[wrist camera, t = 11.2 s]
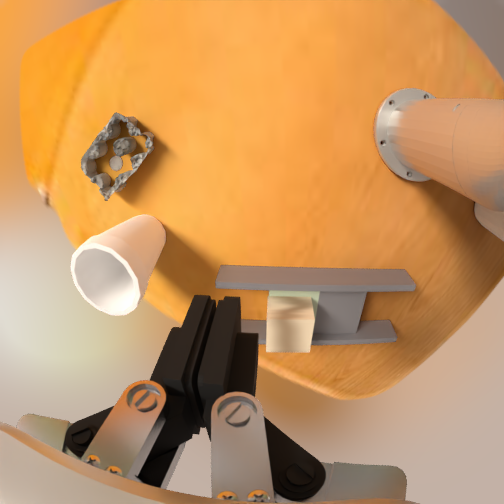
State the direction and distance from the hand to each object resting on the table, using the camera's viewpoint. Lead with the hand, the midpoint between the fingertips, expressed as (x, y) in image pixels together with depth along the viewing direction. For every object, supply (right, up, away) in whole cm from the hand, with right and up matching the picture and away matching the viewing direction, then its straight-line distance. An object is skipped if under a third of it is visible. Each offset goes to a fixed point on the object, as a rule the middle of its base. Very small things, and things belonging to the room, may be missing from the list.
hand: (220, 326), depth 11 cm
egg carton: (-17, +17, +24) cm, 34 cm away
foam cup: (-14, +6, +29) cm, 33 cm away
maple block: (+6, -6, +30) cm, 31 cm away
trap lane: (+11, -4, +32) cm, 34 cm away
